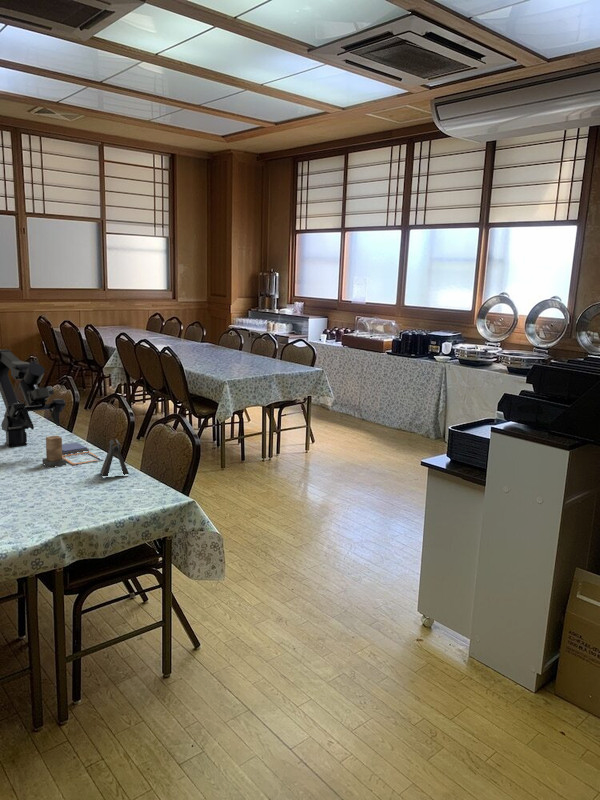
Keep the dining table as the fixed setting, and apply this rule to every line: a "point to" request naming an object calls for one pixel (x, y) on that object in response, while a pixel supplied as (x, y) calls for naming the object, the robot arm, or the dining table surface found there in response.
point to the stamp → (54, 452)
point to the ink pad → (73, 448)
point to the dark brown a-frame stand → (109, 458)
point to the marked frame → (76, 454)
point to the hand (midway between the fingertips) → (45, 427)
